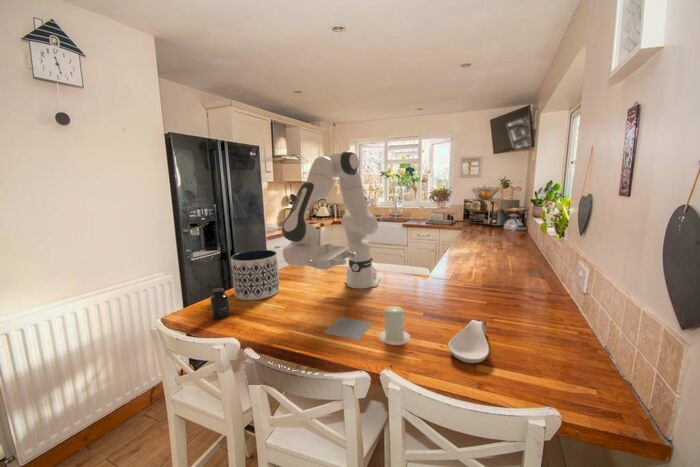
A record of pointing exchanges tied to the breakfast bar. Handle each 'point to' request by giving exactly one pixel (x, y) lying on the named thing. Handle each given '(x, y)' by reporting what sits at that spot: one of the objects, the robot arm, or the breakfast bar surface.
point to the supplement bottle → (219, 304)
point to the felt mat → (348, 328)
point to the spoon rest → (470, 343)
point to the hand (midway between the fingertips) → (350, 258)
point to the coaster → (385, 340)
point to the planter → (255, 274)
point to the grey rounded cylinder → (394, 323)
